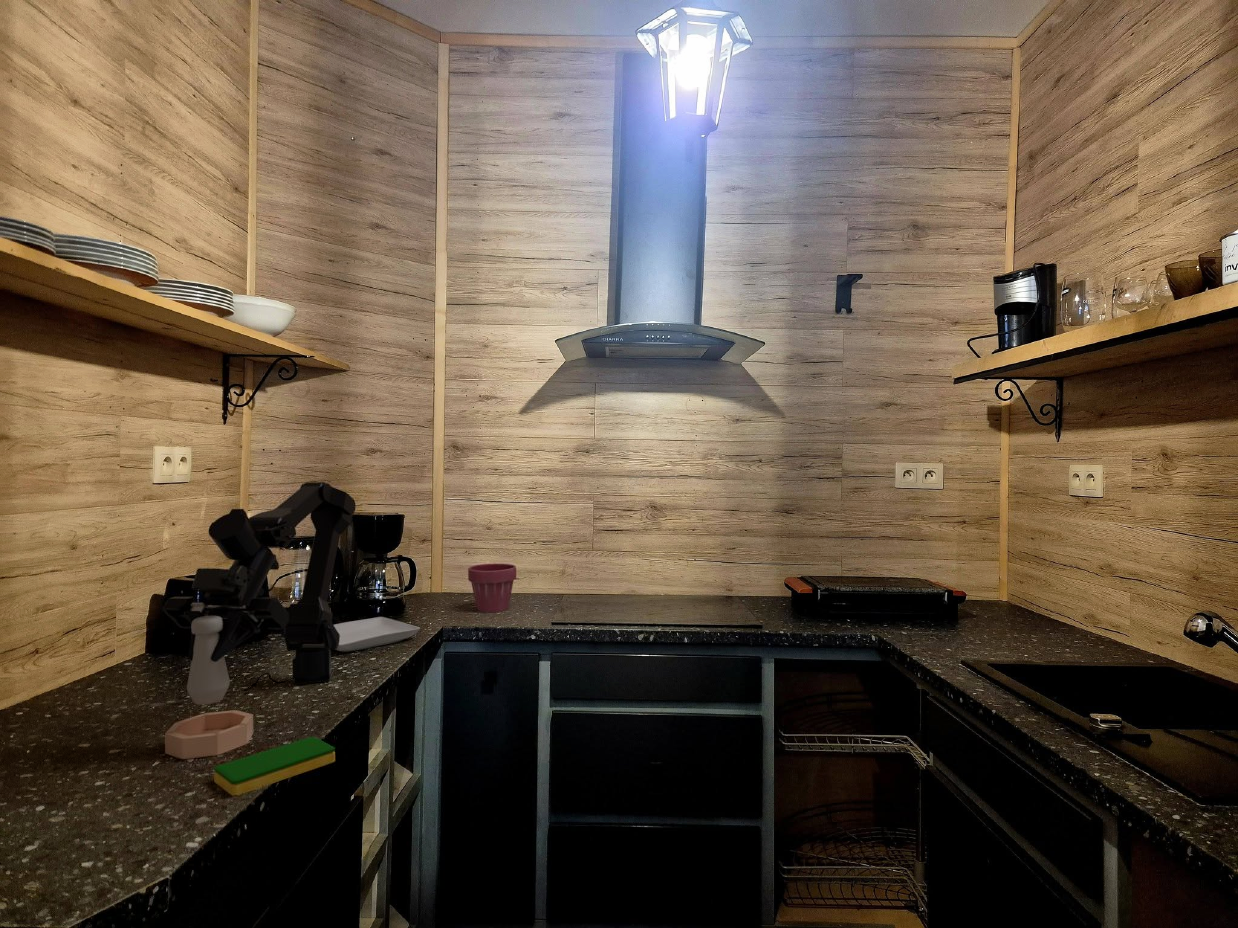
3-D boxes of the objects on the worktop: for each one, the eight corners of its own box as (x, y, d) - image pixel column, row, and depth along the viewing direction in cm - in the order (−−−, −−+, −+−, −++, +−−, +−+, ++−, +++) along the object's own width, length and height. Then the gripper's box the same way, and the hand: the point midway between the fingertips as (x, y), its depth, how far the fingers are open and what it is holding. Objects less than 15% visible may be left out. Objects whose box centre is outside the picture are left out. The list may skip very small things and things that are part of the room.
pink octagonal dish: (257, 725, 114) (257, 707, 114) (241, 752, 104) (241, 732, 104) (181, 734, 111) (181, 715, 111) (157, 762, 100) (157, 741, 100)
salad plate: (300, 643, 170) (300, 629, 170) (381, 627, 185) (381, 614, 185) (337, 659, 155) (336, 644, 155) (422, 641, 170) (422, 627, 170)
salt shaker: (211, 692, 111) (210, 611, 111) (238, 695, 109) (237, 613, 109) (178, 704, 106) (176, 620, 106) (206, 708, 104) (204, 622, 104)
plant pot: (504, 615, 196) (503, 570, 196) (459, 613, 200) (459, 569, 200) (524, 605, 210) (523, 563, 210) (482, 603, 214) (481, 562, 214)
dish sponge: (336, 763, 100) (335, 747, 100) (233, 799, 90) (233, 781, 90) (313, 751, 105) (313, 735, 105) (213, 783, 94) (213, 766, 94)
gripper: (169, 547, 112) (114, 632, 101) (277, 547, 110) (233, 633, 99) (204, 586, 120) (157, 669, 109) (305, 587, 118) (268, 671, 107)
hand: (202, 660), depth 106 cm, fingers closed on salt shaker, 3 cm apart
